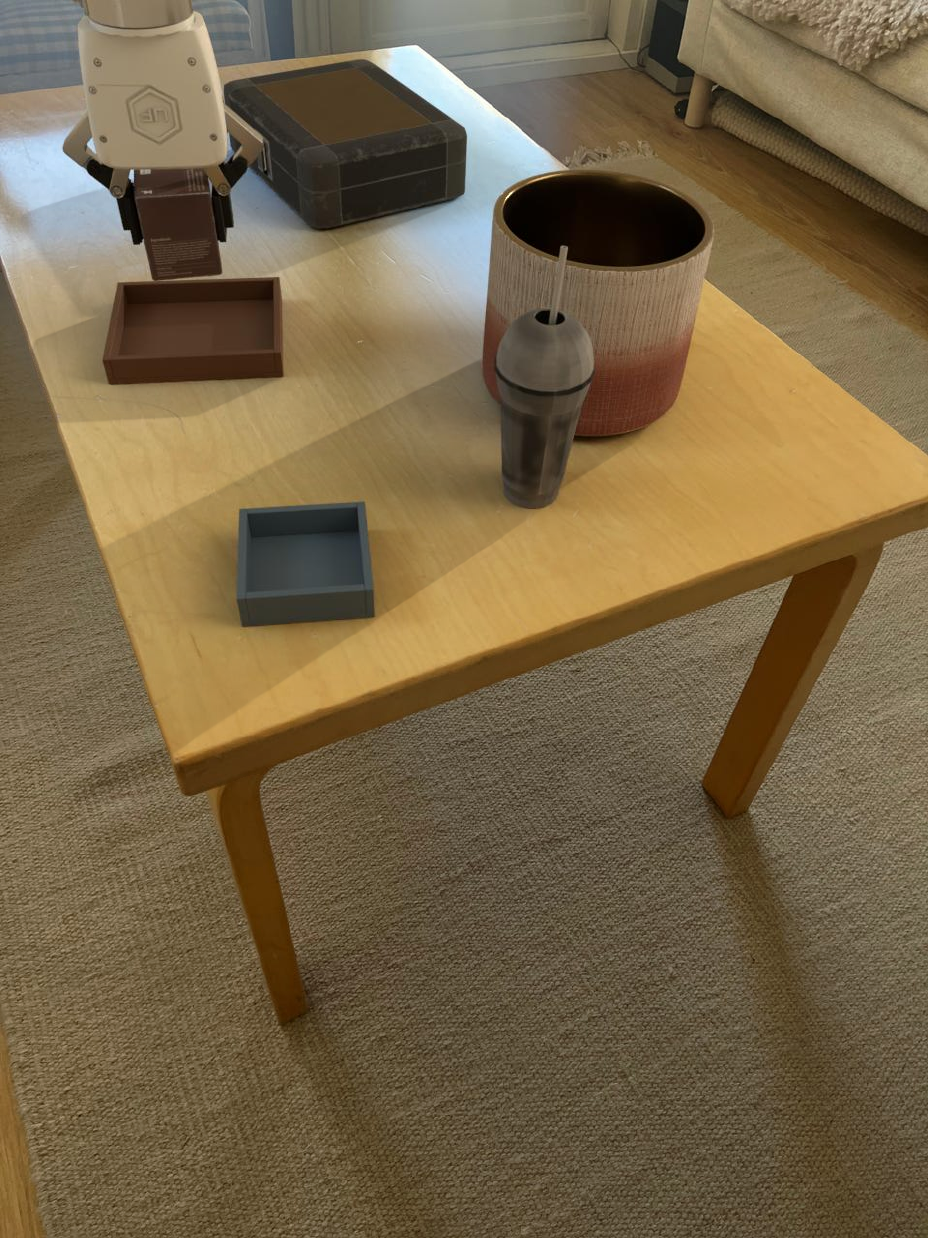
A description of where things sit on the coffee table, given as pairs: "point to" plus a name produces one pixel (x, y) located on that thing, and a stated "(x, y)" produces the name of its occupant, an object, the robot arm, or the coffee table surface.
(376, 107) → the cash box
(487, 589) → the coffee table surface
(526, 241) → the planter
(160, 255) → the box
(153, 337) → the tray
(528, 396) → the beverage cup
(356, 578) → the bin
